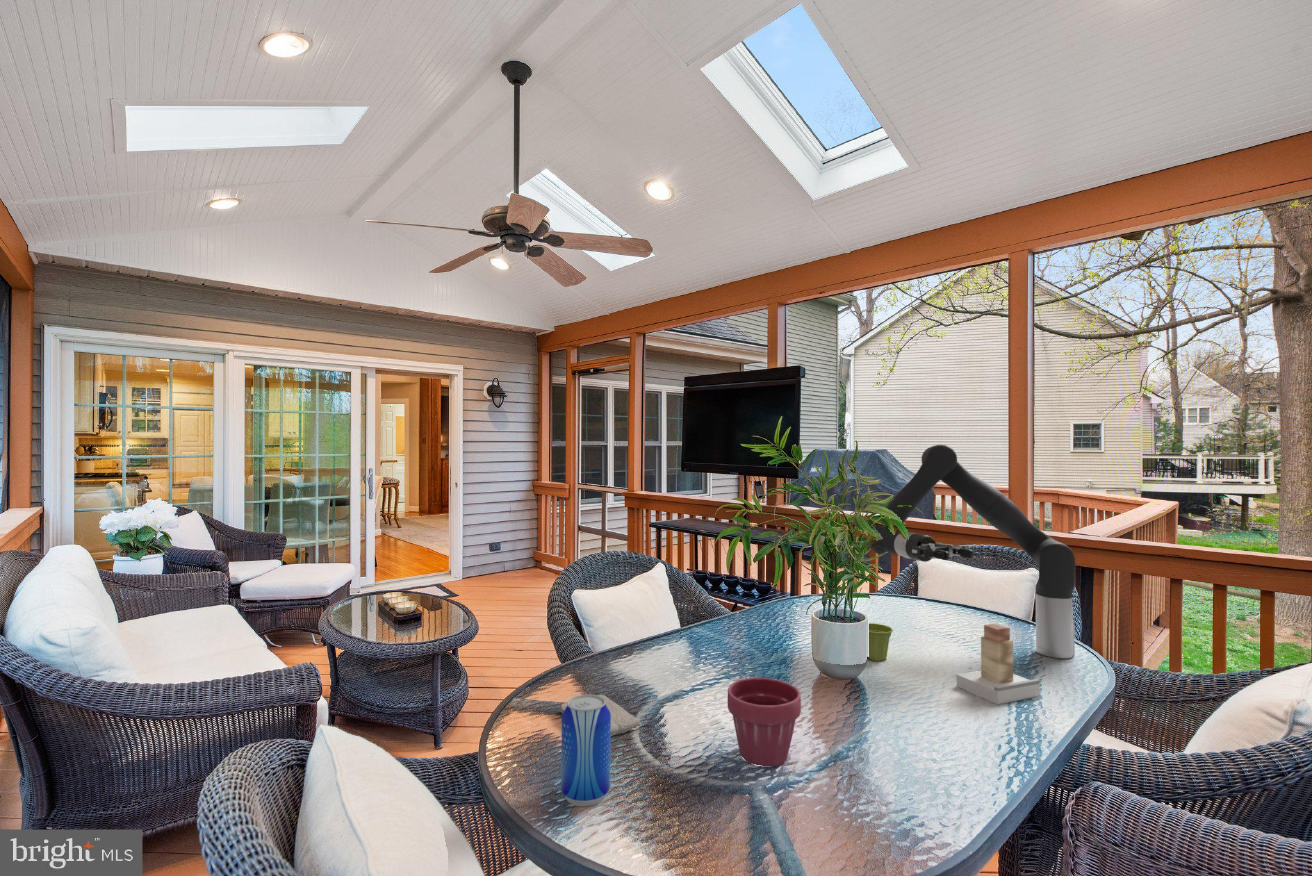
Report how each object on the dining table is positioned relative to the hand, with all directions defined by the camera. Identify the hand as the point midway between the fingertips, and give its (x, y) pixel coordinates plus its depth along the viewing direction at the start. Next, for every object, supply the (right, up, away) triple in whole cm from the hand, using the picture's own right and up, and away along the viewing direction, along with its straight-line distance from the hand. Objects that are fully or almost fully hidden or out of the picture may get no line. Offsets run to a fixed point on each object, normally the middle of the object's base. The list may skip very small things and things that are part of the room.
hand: (960, 555), depth 167 cm
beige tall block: (+4, -29, -11) cm, 31 cm away
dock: (+4, -32, -11) cm, 34 cm away
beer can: (-93, -31, -59) cm, 114 cm away
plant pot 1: (-60, -31, -45) cm, 81 cm away
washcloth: (-94, -32, -29) cm, 103 cm away
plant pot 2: (-18, -32, +14) cm, 39 cm away
